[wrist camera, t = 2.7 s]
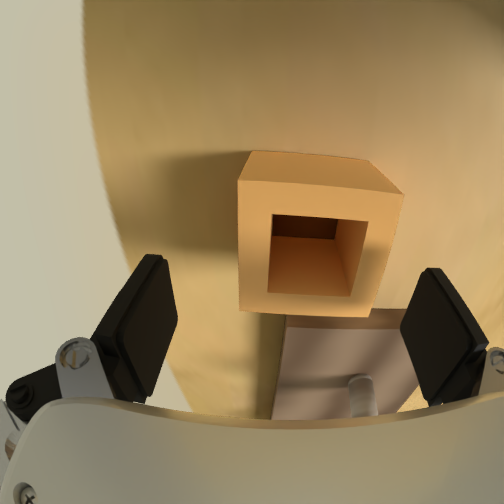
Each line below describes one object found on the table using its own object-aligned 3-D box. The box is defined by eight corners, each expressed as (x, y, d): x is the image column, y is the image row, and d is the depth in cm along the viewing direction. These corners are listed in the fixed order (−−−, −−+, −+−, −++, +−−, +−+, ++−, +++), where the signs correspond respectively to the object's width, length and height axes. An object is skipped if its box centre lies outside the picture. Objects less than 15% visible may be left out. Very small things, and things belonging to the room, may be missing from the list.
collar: (368, 161, 13) (404, 195, 9) (350, 258, 17) (368, 317, 12) (252, 150, 14) (237, 180, 10) (250, 252, 17) (239, 310, 13)
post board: (448, 308, 18) (493, 410, 10) (366, 428, 30) (372, 492, 22) (287, 305, 19) (282, 439, 11) (268, 430, 31) (261, 497, 23)
